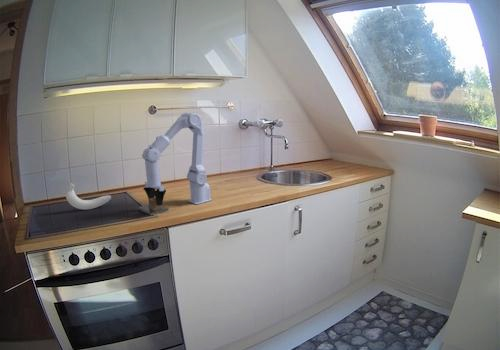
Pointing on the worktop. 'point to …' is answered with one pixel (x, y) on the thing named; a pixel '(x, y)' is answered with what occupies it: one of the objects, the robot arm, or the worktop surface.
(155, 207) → the hollow block
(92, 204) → the banana
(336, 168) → the worktop surface
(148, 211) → the pin plate
